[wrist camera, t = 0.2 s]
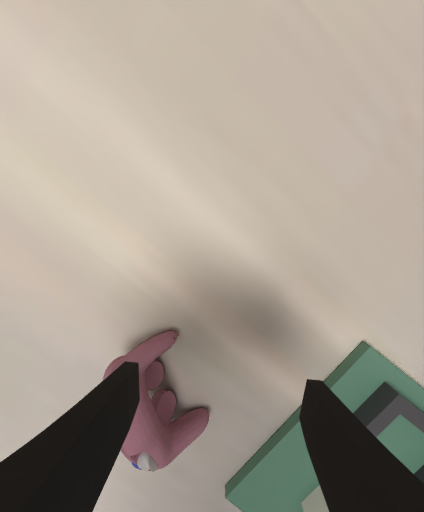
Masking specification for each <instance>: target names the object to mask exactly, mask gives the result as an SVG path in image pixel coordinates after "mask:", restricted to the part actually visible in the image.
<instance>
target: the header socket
mask: <svg viewBox="0 0 424 512" xmlns="http://www.w3.org/2000/svg"><path fill="white" fill-rule="evenodd" d="M353 414H354V415H355V416H356V417H357V418H358V419H359V420H360V421H361V422H362V423H363V424H364V426H365V427H366V428H367V429H368V430H369V431H370V432H371V433H372V434H373V435H374V436H375V437H377V436H378V435H379V434H380V433H381V432H382V431H383V430H384V429H385V428H386V427H387V426H388V425H389V424H391V423H392V422H393V421H394V420H395V419H396V418H397V417H398V416H399V415H400V414H401V415H402V416H403V417H404V418H406V419H407V420H408V421H409V422H411V423H412V424H413V425H414V426H416V427H417V428H418V429H419V430H421V431H422V432H423V433H424V412H423V411H421V410H420V409H419V408H417V407H416V406H415V405H414V404H412V403H411V402H410V401H409V400H407V399H406V398H405V397H404V396H402V395H401V394H400V393H399V392H397V391H396V390H395V389H394V388H392V387H391V386H390V385H389V384H387V383H386V382H384V383H383V384H382V385H381V386H380V387H379V388H378V389H377V390H376V391H375V392H374V393H373V394H372V395H371V396H370V397H369V398H368V399H367V400H366V401H365V402H364V403H363V404H362V405H361V406H360V407H359V408H358V409H357V410H356V411H355V412H354V413H353ZM414 475H415V476H416V477H417V478H418V479H419V480H420V481H422V482H423V483H424V465H423V466H422V467H421V468H420V469H419V470H418V471H416V472H415V473H414Z"/></svg>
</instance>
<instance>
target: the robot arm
mask: <svg viewBox="0 0 424 512" xmlns="http://www.w3.org/2000/svg"><path fill="white" fill-rule="evenodd" d="M139 401H140V390H139V363H137V362H127V361H125V362H124V363H122V364H121V365H120V366H119V367H118V368H117V369H116V370H114V371H113V372H112V373H111V374H110V375H109V376H108V377H107V378H106V379H104V380H103V381H102V382H101V383H100V384H99V385H98V386H97V387H95V388H94V389H93V390H92V391H91V392H90V393H88V394H87V395H86V396H85V397H84V398H83V399H82V400H80V401H79V402H78V403H77V404H76V405H75V406H73V407H72V408H71V409H70V410H68V411H67V412H66V413H65V414H64V415H62V416H61V417H60V418H59V419H57V420H56V421H55V422H54V423H52V424H51V425H50V426H49V427H47V428H46V429H45V430H44V431H42V432H41V433H40V434H38V435H37V436H36V437H34V438H33V439H32V440H30V441H29V442H28V443H26V444H25V445H24V446H22V447H21V448H20V449H18V450H17V451H16V452H14V453H13V454H11V455H10V456H9V457H7V458H6V459H4V460H3V461H2V462H0V512H92V511H93V509H94V507H95V504H96V502H97V500H98V498H99V496H100V494H101V491H102V489H103V487H104V485H105V483H106V480H107V478H108V476H109V474H110V472H111V470H112V467H113V465H114V463H115V461H116V459H117V456H118V454H119V452H120V450H121V448H122V445H123V443H124V441H125V439H126V437H127V434H128V432H129V430H130V427H131V424H132V422H133V419H134V416H135V413H136V410H137V407H138V404H139ZM299 419H300V423H301V427H302V432H303V436H304V439H305V443H306V447H307V450H308V453H309V456H310V459H311V462H312V465H313V468H314V470H315V473H316V476H317V479H318V482H319V485H320V487H321V490H322V493H323V496H324V499H325V501H326V504H327V507H328V510H329V512H424V483H423V482H422V481H420V480H419V479H418V478H417V477H416V476H415V475H414V474H413V473H412V472H411V471H410V470H409V469H408V468H407V467H406V466H405V465H404V464H403V463H402V462H401V461H400V460H398V459H397V458H396V457H395V456H394V455H393V454H392V453H391V452H390V451H389V450H388V449H387V448H386V447H385V446H384V445H383V444H382V443H381V442H380V441H379V440H378V439H377V438H376V437H375V436H374V435H373V434H372V433H371V432H370V431H369V430H368V429H367V428H366V427H365V426H364V424H363V423H362V422H361V421H360V420H359V419H358V418H357V417H356V416H355V415H354V414H353V413H352V412H351V411H350V410H349V409H348V408H347V407H346V406H345V404H344V403H343V402H342V401H341V400H340V399H339V398H338V397H337V396H336V395H335V394H334V393H333V392H332V391H331V390H330V388H329V387H328V386H327V385H326V384H325V383H324V382H323V381H319V380H309V379H307V382H306V387H305V392H304V396H303V401H302V406H301V411H300V415H299Z"/></svg>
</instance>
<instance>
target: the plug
mask: <svg viewBox="0 0 424 512" xmlns="http://www.w3.org/2000/svg"><path fill="white" fill-rule="evenodd" d="M301 505H302V508H303V512H329V510H328V507H327V504H326V501H325V499H324V496H323V493H322V490H321V487H320V485H319V486H318V487H317V488H316V489H315V490H314V491H312V492H311V493H310V494H309V495H308V496H307V497H306V498H305V499H304V500H303V501H302V502H301Z"/></svg>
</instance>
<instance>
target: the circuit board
mask: <svg viewBox="0 0 424 512" xmlns="http://www.w3.org/2000/svg"><path fill="white" fill-rule="evenodd" d="M384 382H386V383H387V384H389V385H390V386H391V387H392V388H394V389H395V390H396V391H397V392H399V393H400V394H401V395H402V396H404V397H405V398H406V399H407V400H409V401H410V402H411V403H412V404H414V405H415V406H416V407H417V408H419V409H420V410H421V411H423V412H424V389H423V388H422V387H421V386H420V385H418V384H417V383H416V382H415V381H413V380H412V379H411V378H410V377H408V376H407V375H406V374H405V373H403V372H402V371H401V370H400V369H398V368H397V367H396V366H395V365H393V364H392V363H391V362H389V361H388V360H387V359H386V358H384V357H383V356H382V355H381V354H379V353H378V352H377V351H376V350H374V349H373V348H372V347H371V346H369V345H368V344H367V343H365V342H364V341H362V342H361V343H360V344H359V346H358V347H357V348H356V349H355V350H354V351H353V352H352V353H351V354H350V355H349V356H348V357H347V358H346V359H345V360H344V361H343V362H342V363H341V364H340V366H339V367H338V368H337V369H336V370H335V371H334V372H333V373H332V374H331V375H330V376H329V377H328V378H327V379H326V380H325V381H324V383H325V384H326V385H327V386H328V387H329V388H330V390H331V391H332V392H333V393H334V394H335V395H336V396H337V397H338V398H339V399H340V400H341V401H342V402H343V403H344V404H345V406H346V407H347V408H348V409H349V410H350V411H351V412H352V413H354V412H355V411H356V410H357V409H358V408H359V407H360V406H361V405H362V404H363V403H364V402H365V401H366V400H367V399H368V398H369V397H370V396H371V395H372V394H373V393H374V392H375V391H376V390H377V389H378V388H379V387H380V386H381V385H382V384H383V383H384ZM301 406H302V405H301ZM300 411H301V407H300V408H299V409H298V410H297V411H296V412H295V413H294V414H293V415H292V416H291V417H290V418H289V419H288V420H287V421H286V422H285V423H284V424H283V425H282V427H281V428H280V429H279V430H278V431H277V432H276V433H275V434H274V435H273V436H272V437H271V438H270V439H269V440H268V441H267V442H266V443H265V444H264V445H263V446H262V448H261V449H260V450H259V451H258V452H257V453H256V454H255V455H254V456H253V457H252V458H251V459H250V460H249V461H248V462H247V463H246V464H245V465H244V466H243V468H242V469H241V470H240V471H239V472H238V473H237V474H236V475H235V476H234V477H233V478H232V479H231V480H230V481H229V482H228V483H227V484H226V485H225V498H226V499H227V500H229V501H230V502H231V503H232V504H234V505H235V506H236V507H238V508H239V509H240V510H241V511H243V512H303V508H302V505H301V502H302V501H303V500H304V499H305V498H306V497H307V496H308V495H309V494H310V493H311V492H312V491H314V490H315V489H316V488H317V487H318V486H319V482H318V479H317V476H316V473H315V470H314V468H313V465H312V462H311V459H310V456H309V453H308V450H307V447H306V443H305V439H304V436H303V432H302V427H301V423H300V419H299V415H300ZM376 438H377V439H378V440H379V441H380V442H381V443H382V444H383V445H384V446H385V447H386V448H387V449H388V450H389V451H390V452H391V453H392V454H393V455H394V456H395V457H396V458H397V459H398V460H400V461H401V462H402V463H403V464H404V465H405V466H406V467H407V468H408V469H409V470H410V471H411V472H412V473H413V474H414V473H415V472H416V471H418V470H419V469H420V468H421V467H422V466H423V465H424V433H423V432H422V431H421V430H419V429H418V428H417V427H416V426H414V425H413V424H412V423H411V422H409V421H408V420H407V419H406V418H404V417H403V416H402V415H401V414H400V415H399V416H398V417H397V418H396V419H395V420H394V421H393V422H392V423H391V424H389V425H388V426H387V427H386V428H385V429H384V430H383V431H382V432H381V433H380V434H379V435H378V436H377V437H376Z"/></svg>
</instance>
